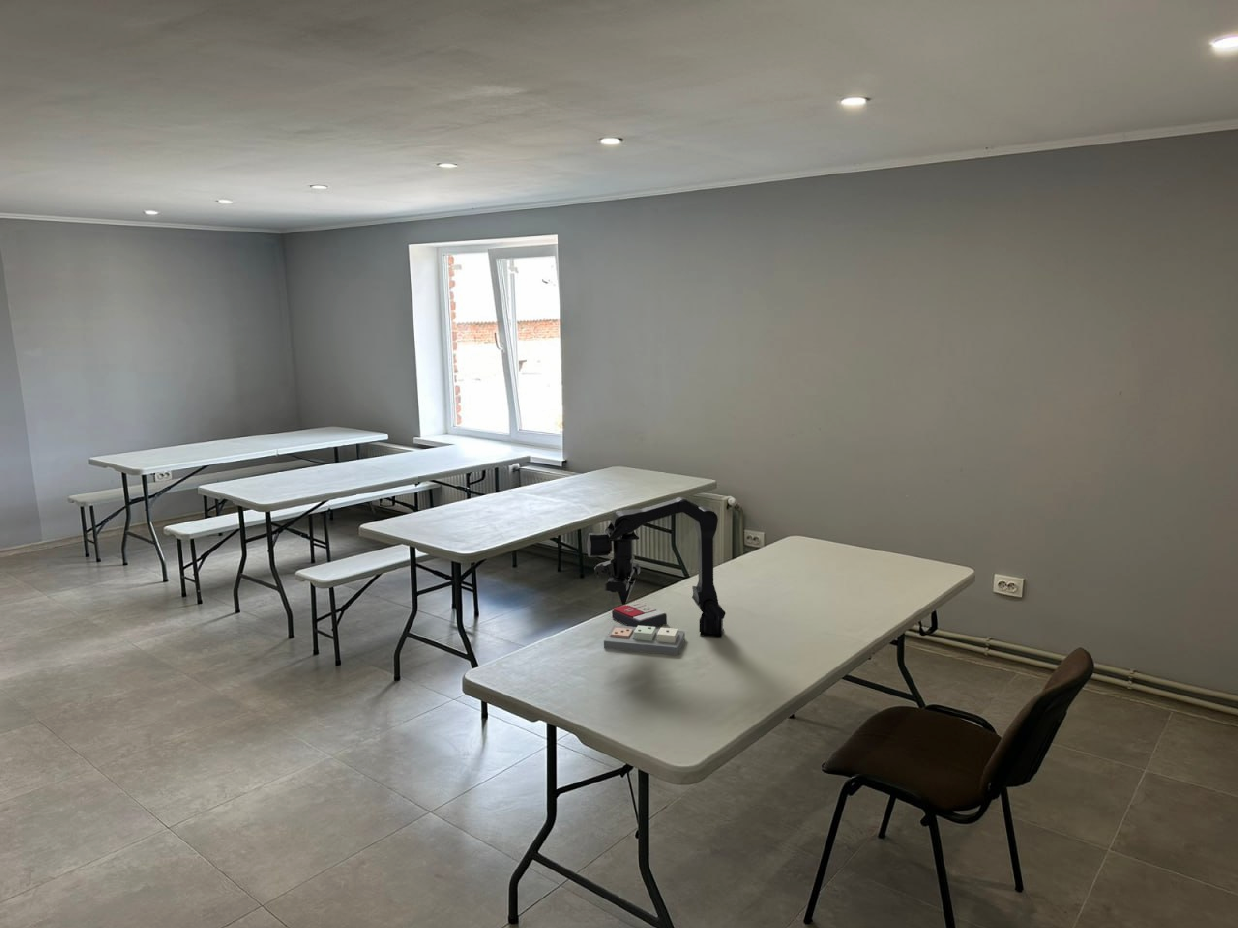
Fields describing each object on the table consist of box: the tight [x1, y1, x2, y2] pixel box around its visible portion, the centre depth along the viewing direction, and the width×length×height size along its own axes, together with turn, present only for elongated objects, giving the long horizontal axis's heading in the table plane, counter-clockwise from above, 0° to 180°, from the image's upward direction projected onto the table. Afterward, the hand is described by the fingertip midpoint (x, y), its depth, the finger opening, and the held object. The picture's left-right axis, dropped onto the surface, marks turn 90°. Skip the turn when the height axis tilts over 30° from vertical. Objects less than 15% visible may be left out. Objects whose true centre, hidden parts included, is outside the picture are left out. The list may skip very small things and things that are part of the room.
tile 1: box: [657, 626, 679, 643], centre depth 237 cm, size 5×5×3 cm
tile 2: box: [634, 625, 656, 641], centre depth 239 cm, size 5×5×3 cm
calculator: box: [611, 601, 668, 628], centre depth 257 cm, size 11×4×15 cm
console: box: [603, 624, 685, 656], centre depth 240 cm, size 22×12×2 cm, turn 75°
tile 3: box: [611, 628, 633, 639], centre depth 241 cm, size 5×5×3 cm
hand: (623, 604), depth 239 cm, fingers closed
